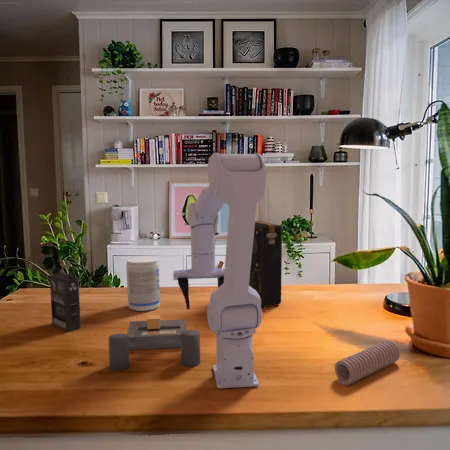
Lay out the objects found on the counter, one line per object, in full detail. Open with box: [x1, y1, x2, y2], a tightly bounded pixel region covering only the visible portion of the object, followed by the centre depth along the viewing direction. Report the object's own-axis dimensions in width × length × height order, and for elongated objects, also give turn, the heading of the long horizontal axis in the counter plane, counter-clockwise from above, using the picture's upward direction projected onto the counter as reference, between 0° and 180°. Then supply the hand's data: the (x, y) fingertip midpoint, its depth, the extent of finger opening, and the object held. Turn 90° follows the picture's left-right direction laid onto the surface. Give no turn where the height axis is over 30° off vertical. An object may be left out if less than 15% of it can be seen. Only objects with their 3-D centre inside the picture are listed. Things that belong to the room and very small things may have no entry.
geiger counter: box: [49, 267, 82, 332], centre depth 117 cm, size 10×5×15 cm, turn 48°
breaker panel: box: [126, 318, 188, 351], centre depth 108 cm, size 11×14×3 cm
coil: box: [334, 340, 401, 387], centre depth 91 cm, size 5×5×18 cm
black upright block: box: [249, 220, 283, 309], centre depth 139 cm, size 16×9×25 cm, turn 25°
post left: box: [108, 333, 130, 372], centre depth 93 cm, size 4×4×6 cm
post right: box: [180, 329, 201, 368], centre depth 95 cm, size 4×4×6 cm
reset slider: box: [146, 314, 161, 329], centre depth 108 cm, size 3×3×2 cm
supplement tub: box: [125, 256, 161, 312], centre depth 133 cm, size 10×10×15 cm
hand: (203, 307), depth 108 cm, fingers open, 7 cm apart
